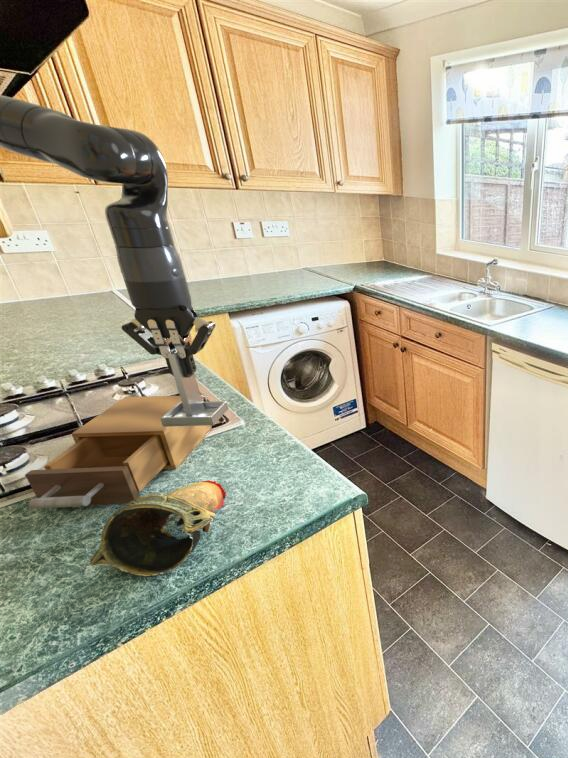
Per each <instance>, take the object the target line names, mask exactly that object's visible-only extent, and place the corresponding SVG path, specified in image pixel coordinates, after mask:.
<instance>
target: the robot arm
mask: <svg viewBox="0 0 568 758" xmlns="http://www.w3.org/2000/svg"><path fill="white" fill-rule="evenodd" d="M0 148H1V149H3V150H5V151H9V152H11V153H14V154H18V155H21V156H24V157H28V158H31V159H35V160H38V161H42V162H46V163H49V164H53V165H56V166H57V165H58V166H59V167H60V168H63V169H64V170H67V171H69V172H71V173H73V174H75V175H77V176H80V177H82V178H86V179H89V180H92V181H96V182H101V183H106V184H121V196H120V199H118V200H116V201H113V202H111V203H109V204H107V205H106V206H105V208H104V215H105V220H106V223H107V226H108V228H109V231H110V235H111V239H112V240H113V244H114V248H115V252H116V259H117V263H118V267H119V270H120V273H121V276H122V278H123V281H124V285H125V287H126V291H127V293H128V296H129V297H128V298H129V300H130V302H131V305H132V307H134V308H135V312H134V314H133V315H134V319H132V320H130V321H129V322H127V323H125V324H123V325H121V330H122V331H123V332H124V333H125V334H126V335H128V337H130V338H131V339H132V340H133V341H134V342H136V343H137V344H138V345H139V346H140V347H141V348H143V349H144V350H145V351H146V352H147V353H148V354H150V355H160V356H162V358H164V359H165V363H166V366H167V369H168V373H169V374H171V375H172V376H173V377H174V375H173V371H172V368H171V365H170V362H169V358H168V355H167V354H169V353H170V352H172V351H173V350H175V349H176V351H177V355H178V356H179V357H180V358H179V361H180V365H181V368H182V371H183V375H184V377H185V378H189V377H191V376H192V375H193V374H195V373H196V372H197V365H196V362H195V358H194V355H196V354H198V353H199V352H201V351H202V350H203V349H204V348H205V346H206V344H207V342H208V340H209V339H210V337H211V335H212V333H213V332H214V329H215V328H216V323H215V322H214V321H206V320H204V319H202V318H200V317H199V315H198V313H197V312H196V310H195V309H194V307H193V304H192V298H191V293H190V289H189V285H188V282H187V279H186V275H185V271H184V267H183V263H182V259H181V258H180V255H179V252H178V250H177V248H176V245H175V242H174V237H173V234H172V230H171V227H170V223H169V220H168V203H169V202H168V201H169V196H168V191H169V190H168V189H169V185H168V184H169V178H168V168H167V163H166V160H165V158H164V156H163V153H162V152H161V150H160V149H159V147H158V146H157V144H156V143H155V142H154V141H153V140H152V139H151V138H150V137H148V136H147V135H146V134H145V133H142V132H140V131H137V130H133V129H128V128H121V127H114V126H108V125H101V124H95V123H91V122H86V121H81V120H77V119H75V118H73V117H72V116H71V115H68V114H66V113H64V112H62V111H59V110H57V109H53V108H50V107H46V106H43V105H38V104H36V103H32V102H29V101H26V100H23V99H18V98H15V97H11V96H7V95H1V94H0ZM193 327H194V331H195V333H196V335H195V336H194V338H193V341H192V334H191V331H192V329H193Z"/></svg>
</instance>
